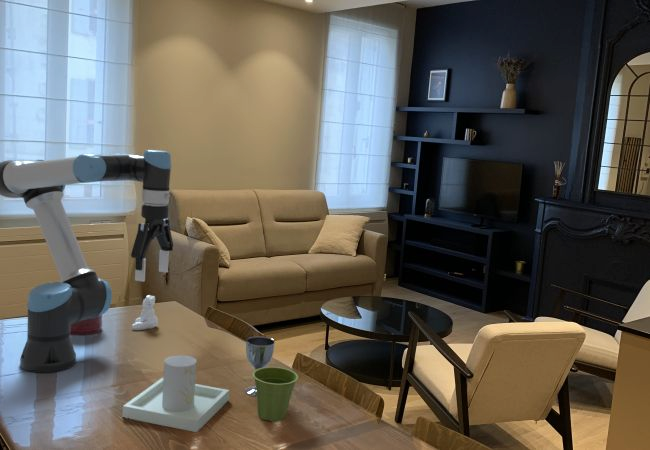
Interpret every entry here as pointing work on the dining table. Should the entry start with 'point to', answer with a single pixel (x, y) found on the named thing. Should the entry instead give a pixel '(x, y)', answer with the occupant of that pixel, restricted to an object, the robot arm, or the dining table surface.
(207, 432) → the dining table surface
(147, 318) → the sitting furry creature
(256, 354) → the wine glass
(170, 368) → the white round cylinder
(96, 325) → the canister
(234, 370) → the dining table surface
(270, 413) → the plant pot
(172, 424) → the tray
